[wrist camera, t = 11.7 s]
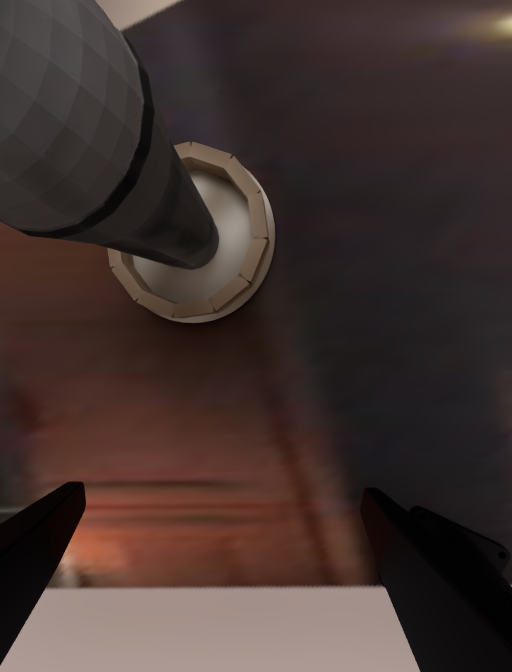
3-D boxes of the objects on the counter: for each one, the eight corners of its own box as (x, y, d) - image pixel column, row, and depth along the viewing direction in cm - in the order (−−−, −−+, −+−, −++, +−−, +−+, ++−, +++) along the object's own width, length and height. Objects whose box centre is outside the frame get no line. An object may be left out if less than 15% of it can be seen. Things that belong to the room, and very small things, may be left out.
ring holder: (302, 185, 19) (303, 169, 17) (237, 348, 20) (230, 350, 18) (149, 134, 21) (133, 114, 19) (98, 288, 22) (78, 284, 20)
